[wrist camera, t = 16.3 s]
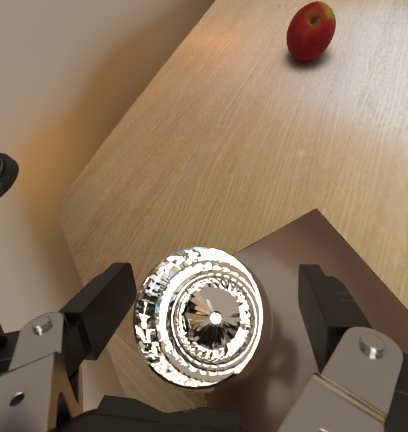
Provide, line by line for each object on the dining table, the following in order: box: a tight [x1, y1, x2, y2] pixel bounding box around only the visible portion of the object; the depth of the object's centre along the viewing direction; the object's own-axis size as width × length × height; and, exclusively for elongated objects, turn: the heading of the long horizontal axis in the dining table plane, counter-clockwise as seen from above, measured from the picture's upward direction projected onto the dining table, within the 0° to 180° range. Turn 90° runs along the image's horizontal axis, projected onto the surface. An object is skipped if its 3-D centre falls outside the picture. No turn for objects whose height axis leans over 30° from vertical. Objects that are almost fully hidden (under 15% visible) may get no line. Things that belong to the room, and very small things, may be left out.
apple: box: [287, 1, 336, 61], centre depth 40 cm, size 8×8×8 cm
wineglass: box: [133, 247, 273, 393], centre depth 14 cm, size 6×6×12 cm
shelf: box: [204, 208, 408, 432], centre depth 22 cm, size 16×14×8 cm
